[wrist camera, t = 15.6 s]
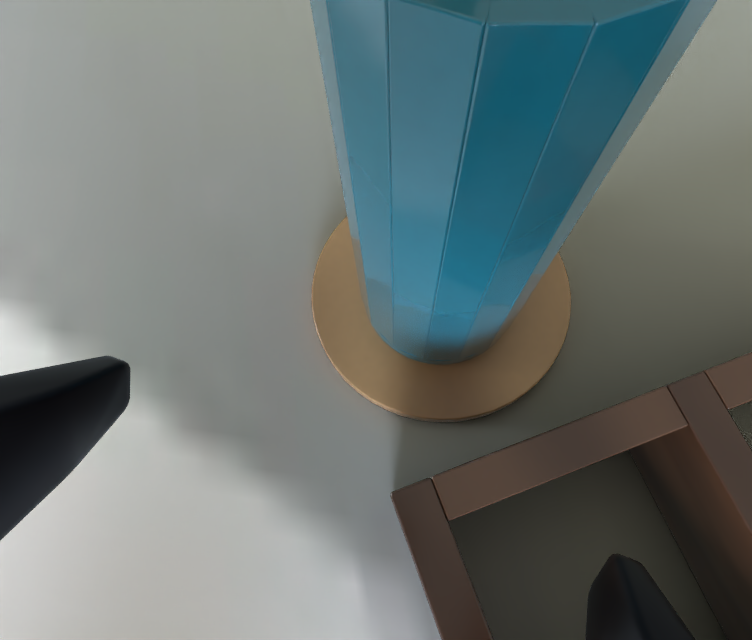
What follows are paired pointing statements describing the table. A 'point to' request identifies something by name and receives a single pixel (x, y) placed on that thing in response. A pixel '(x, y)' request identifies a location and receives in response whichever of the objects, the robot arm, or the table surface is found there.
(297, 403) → the table surface
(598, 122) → the tumbler
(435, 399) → the coaster
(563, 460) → the glass rack
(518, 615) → the table surface
